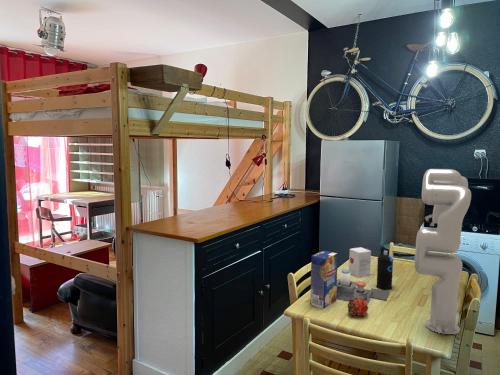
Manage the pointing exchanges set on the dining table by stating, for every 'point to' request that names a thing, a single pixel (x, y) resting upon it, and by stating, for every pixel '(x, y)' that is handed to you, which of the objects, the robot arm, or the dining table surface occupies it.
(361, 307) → the dragon fruit
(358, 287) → the plunger
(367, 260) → the supplement box
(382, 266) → the aerosol can
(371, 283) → the dining table surface
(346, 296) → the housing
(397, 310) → the dining table surface
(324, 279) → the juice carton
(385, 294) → the mat
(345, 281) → the cylinder
